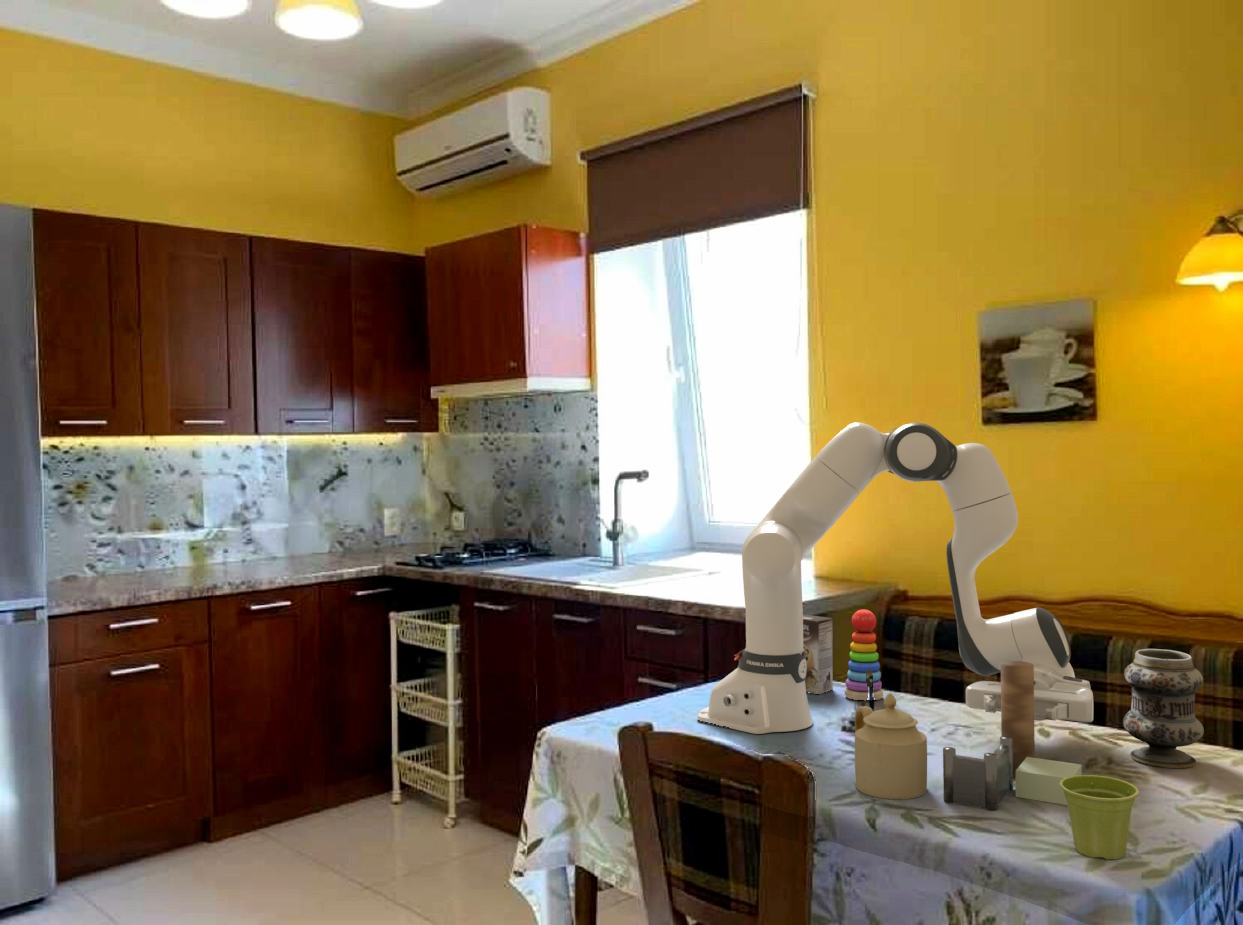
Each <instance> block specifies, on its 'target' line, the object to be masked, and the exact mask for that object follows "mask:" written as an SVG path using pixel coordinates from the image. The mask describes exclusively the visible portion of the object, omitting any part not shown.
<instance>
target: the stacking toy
mask: <svg viewBox="0 0 1243 925" xmlns="http://www.w3.org/2000/svg"><path fill="white" fill-rule="evenodd" d="M851 626H852V627H853V629H854V630H855V632H853V633H852V635H851V639H852V642H851V643H850V644H849V645H850V646H849V647H850V650H851V651H850V652H849V659H850V660H849V661H848V663H847V664H848V668H849V670H848V671H847V674H846V675H847V679H846V680H845V682H844V683H845V686H846V688H845V690H844V696H845V697H846V698H848V699H850V700H852V699H853V700H852V701H857V700H864V701H863V702H867V701H866V700H867V698H868V686H867V682H866V671H867V670H869V669H871V671H872V675H873V687H874V698H875V700H876V701H879V700H881V699H882V698H883V697H884V691H883V690H882V689H881V688H882V685H883V684H882V682H881V680H880V679H881V677H882V672H881V671H880V666H881V664H880V662H879V661H878V660H879V653H878V652H877V649H878V646H877V644H876V640H877V635H876V633H874V632H873V630H874V629H875V628H876V626H877V618H876V616H875V614H874V613H873V612H872V611H870V610H868V609H859V610H857V611H855V612H854V614H853V615H852V616H851Z"/></svg>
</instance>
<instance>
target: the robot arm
mask: <svg viewBox="0 0 1243 925" xmlns="http://www.w3.org/2000/svg"><path fill="white" fill-rule="evenodd" d="M885 472H888V473H890V474H893V475H895V476H896V477H898V478H899V479H901V480H904V481H906V482H911V483H919V482H936V483H937V484H939V486H940V487H941V488H942V490H943V491H944V493H945V494H946V497H947V501H948V504H949V507H950V510H951V512H952V516H953V521H954V530H953V535H952V538H950V539H949V540H948V542H947V544H946V565H947V571H948V577H949V578H948V579H949V584H950V591H951V597H952V602H953V609H954V614H955V620H956V627H957V628H956V630H957V639H958V640H957V641H958V642H957V643H958V650H959V655H960V658H961V660H962V663H963V664H964V666H965V667H966V668H967V669H969V670H970V671H972V672H973V673H975V674H977V675H980V676H983V677H985V678H986V677H989V676H992V675H995V674H998V673H1001V662H1005V661H1022V662H1028V663H1031V664H1033V665H1034V721H1036V722H1037V721H1046V720H1047V721H1053V722H1054V721H1056V720H1061V721H1064V720H1065V721H1072V722H1079V723H1080V722H1081V723H1092V722H1093V721H1094V694H1093V691H1092V689H1091V684H1090V681H1089V680H1087V679H1081V678H1078V677H1076V676H1075V672H1074V669H1073V667H1072V665H1071V663H1070V659H1071V656H1072V650H1071V648H1072V647H1071V644H1070V641H1069V637H1068V635H1067V632H1066V629H1065V628H1064V626H1063V623H1062V622H1061V621H1060V619H1058V618H1057V616H1055V615H1054V614H1052V612H1050V611H1048V610H1046V609H1045V608H1042V607H1039V606H1038V607H1034V608H1029V609H1025V610H1021V611H1016V612H1015V611H1014V612H1013V613H1010V614H1006V615H1001V616H997V617H992V618H987V619H986V618H984V617H982V615H981V609H980V603H979V598H978V592H977V585H976V580H975V579H976V578H975V575H976V571H977V568H978V567H979V565H980V564H981V563H982V562H983V561H984V560H985V559H987V557H989V556H990V555H992V554H993V553H995V552H996V551H997V550H998V549H1000V548H1002V547H1003V545H1005V544H1007V543H1008V542H1009V540H1010V539H1011V538H1012V537H1013V535H1014V534H1015V531H1017V527H1018V523H1019V513H1018V508H1017V505H1016V501H1015V498H1014V496H1013V493H1012V490H1011V488H1010V484H1009V483H1008V481H1007V478H1006V476H1005V473H1004V471H1003V469H1002V467H1001V465H1000V464H999V462H998V461H997V459H996V457H995V455H994V453H993V451H992V450H991V449H990V448H989V447H987V445H984V444H982V443H977V442H968V443H962V444H959V445H955V444H954V443H953V442H951V440H950V439H948V438H947V437H946V436H944V434H942V432H940V431H939V430H938V429H936V428H935V427H933V426H930V425H929V424H926V423H921V422H911V423H906V424H903V425H901V426H899V427H898V428H896V429H894V430H893V431H890V432H886V433H885V432H881V431H879V430H878V429H877V428H875V427H874V426H871V425H870V424H868V423H864V422H852V423H849V424H848V425H847V426H846V427H844V428H843V429H841V430H840V432H838V433H837V434H836V435H834V437H832V438H831V439H830V440H829V441H828V442H827V443H826V444H825V445H824V446H823V447H822V448H821V450H819V452H818V453H817V454H816V455H815V456H814V457H813V459H812V460H811V461H810V462H809V463H808V464H807V466H806V467H805V469H804V470H803V471H802V472H801V473H800V474H799V475H798V476H797V478H796V479H795V480H794V481H793V482H792V483H791V485H790V486H789V487H788V489H787V490H786V491H785V492H784V493H783V495H781V497H780V498H779V499H778V500H777V501H776V503H775V504H774V505H773V507H772V508H771V509H770V510H769V511H768V512H767V513H766V515H765V516H764V518H763V519H761V521H760V522H759V523H758V524H757V526H756V527H755V528H754V529H753V530H752V531H751V532H750V533H749V534H748V536H747V537H746V538H745V540H744V542H743V544H742V549H741V550H742V551H741V562H742V564H741V565H742V581H743V594H744V606H745V607H744V608H745V640H746V641H745V648H744V649H742V650H740V651H739V652H738V653H736V654H734V655H733V656H734V657H735V658H734V661H738V665H737V668H735V669H734V670H733V671H732V672H730V673H729V674H728V675H726V676H725V677H724V678H722V679H721V680H720V681H718V682H717V683H716V684H715V685H714V686H713V687H712V689H711V692H710V695H709V702H708V706H707V707H705V708H703V709H701V710H700V711H699V712H698V713H697V721H698V720H700V721H699V722H701V721H707V722H711V723H713V724H712V725H714V724H716V725H715V726H718V725H719V727H723V726H726V727H725V728H727V727H729V729H731V730H737V731H741V732H745V733H750V734H754V735H759V734H760V735H761V734H769V733H781V732H785V733H786V732H794V731H800V730H803V729H807V728H809V727H811V726H812V725H813V724H814V721H813V718H812V715H811V710H810V705H809V701H808V695H807V694H808V693H806V686H805V679H806V669H807V667H806V652H805V650H804V649H803V614H804V613H803V612H804V608H803V606H804V605H803V591H802V590H803V588H802V561H803V560H804V558H805V557H806V556H807V555H808V553H809V552H810V551H811V550H812V549H813V548H814V547H815V546H816V544H817V543H818V542H820V540H821V539H822V538H824V536H825V535H826V533H827V532H828V531H829V530H830V529H831V528H832V527H833V526H834V525H835V524H836V523H837V521H839V519H840V518H841V517H842V516H843V514H845V513H846V511H847V510H848V509H849V508H850V507H851V505H852V504H853V503H854V501H855V500H857V498H858V497H859V496H860V495H861V493H862V492H863V491H864V490H865V489H866V487H867V486H868V485H869V484H870V483H871V482H872V481H873V480H874V479H875V478H876V477H877V476H879V475H880V474H882V473H885ZM965 705H966V706H967V707H968V708H970V709H974V710H975V709H976V710H984V711H985V713H990V714H991V713H993V714H996V713H997V712H998V713H999V712H1000V713H1001V681H991V680H980V681H975V682H973V683H971V684H969V685H968V686H966V688H965Z"/></svg>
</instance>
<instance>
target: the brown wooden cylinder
mask: <svg viewBox="0 0 1243 925" xmlns="http://www.w3.org/2000/svg"><path fill="white" fill-rule="evenodd" d="M1000 682H1001V712H1000V714H1001V715H1000V717H1001V718H1000V719H1001V721H1000V722H1001V724H1000V725H1001V727H1000V728H1001V729H1000V730H1001V732H1000V733H1001V736H1008V737H1012V747H1013V780H1016V770H1017V768H1018V767H1019V766H1020V765H1021V763H1022V762H1023V761H1024V760H1025V759H1026V757H1032V758H1036V757H1035V753H1036V752H1035V750H1036V749H1035V748H1036V747H1035V745H1036V744H1035V720H1034V665H1033V664H1031V663H1028V662H1022V661H1005V662H1001V672H1000ZM1001 736H1000V737H1001Z"/></svg>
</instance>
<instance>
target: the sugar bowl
mask: <svg viewBox="0 0 1243 925" xmlns="http://www.w3.org/2000/svg"><path fill="white" fill-rule="evenodd" d="M883 704H884V706H885V708H882V709H877V710H873V709H872V708H871V707H869V706H867V705H864V706H863V705H862V706H860V707H858V708H857V709H856V710H855V714H854V730H855V732H854V774H855V775H854V780H855V783H854V784H855V787H856V789H857V790H858V791H859V792H861V793H862V794H865V795H867V796H871V797H874V798H878V799H884V800H885V799H886V800H911V799H916V798H919V797H922V796H923V795H925V794H926V793H927V789H928V739H927V735H926V734H925V733H924V732H922V731H920V730H918V728H917V725H918V724H919V721H918V720H917V719H916V718H915V717H912V715H911V714H910V713H908V712H906V711H903V710H899V709H895V707H896V706H897V699H896V697H895V696H894V694H892V693H891V692H890V693H887V695H886V696H885V697H884V700H883Z"/></svg>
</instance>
